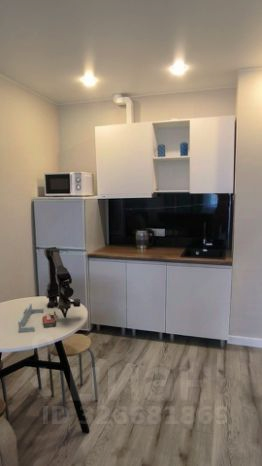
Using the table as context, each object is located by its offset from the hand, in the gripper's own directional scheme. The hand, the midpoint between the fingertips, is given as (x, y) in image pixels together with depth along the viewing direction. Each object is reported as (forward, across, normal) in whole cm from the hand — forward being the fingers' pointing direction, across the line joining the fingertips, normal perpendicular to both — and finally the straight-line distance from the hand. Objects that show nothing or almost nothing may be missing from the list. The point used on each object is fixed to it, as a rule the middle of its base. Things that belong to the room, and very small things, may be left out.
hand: (65, 317), depth 188 cm
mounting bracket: (+2, -19, 0) cm, 19 cm away
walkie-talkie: (+2, -9, 0) cm, 9 cm away
